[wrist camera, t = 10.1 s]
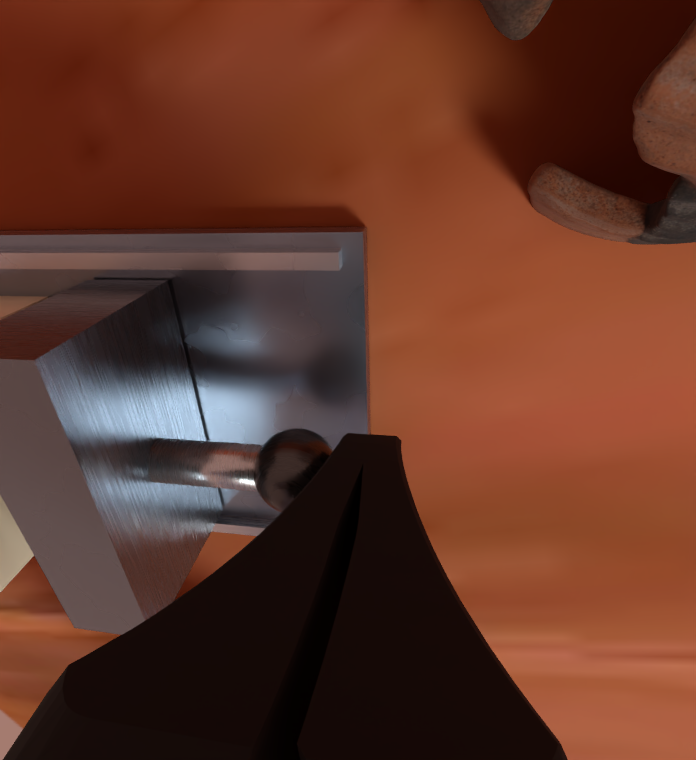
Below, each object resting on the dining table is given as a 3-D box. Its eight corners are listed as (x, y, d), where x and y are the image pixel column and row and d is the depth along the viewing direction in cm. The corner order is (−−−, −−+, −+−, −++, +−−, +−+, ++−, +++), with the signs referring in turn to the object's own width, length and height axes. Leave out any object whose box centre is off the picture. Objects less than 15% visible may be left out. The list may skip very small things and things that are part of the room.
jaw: (356, 521, 14) (329, 664, 11) (153, 503, 15) (63, 626, 12) (346, 281, 11) (298, 371, 7) (78, 279, 12) (-92, 355, 8)
